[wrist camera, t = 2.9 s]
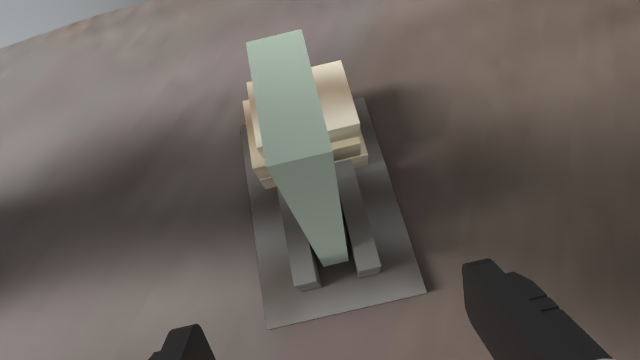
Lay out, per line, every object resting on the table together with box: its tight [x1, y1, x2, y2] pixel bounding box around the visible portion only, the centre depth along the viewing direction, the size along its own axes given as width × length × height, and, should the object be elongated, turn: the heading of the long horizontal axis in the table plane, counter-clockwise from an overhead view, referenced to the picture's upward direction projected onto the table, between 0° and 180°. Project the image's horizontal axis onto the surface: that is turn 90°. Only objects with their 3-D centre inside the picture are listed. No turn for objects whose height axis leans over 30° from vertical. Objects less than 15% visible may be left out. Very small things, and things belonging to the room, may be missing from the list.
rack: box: [240, 60, 427, 330], centre depth 27 cm, size 18×12×7 cm, turn 12°
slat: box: [246, 29, 349, 267], centre depth 19 cm, size 5×2×18 cm, turn 12°
